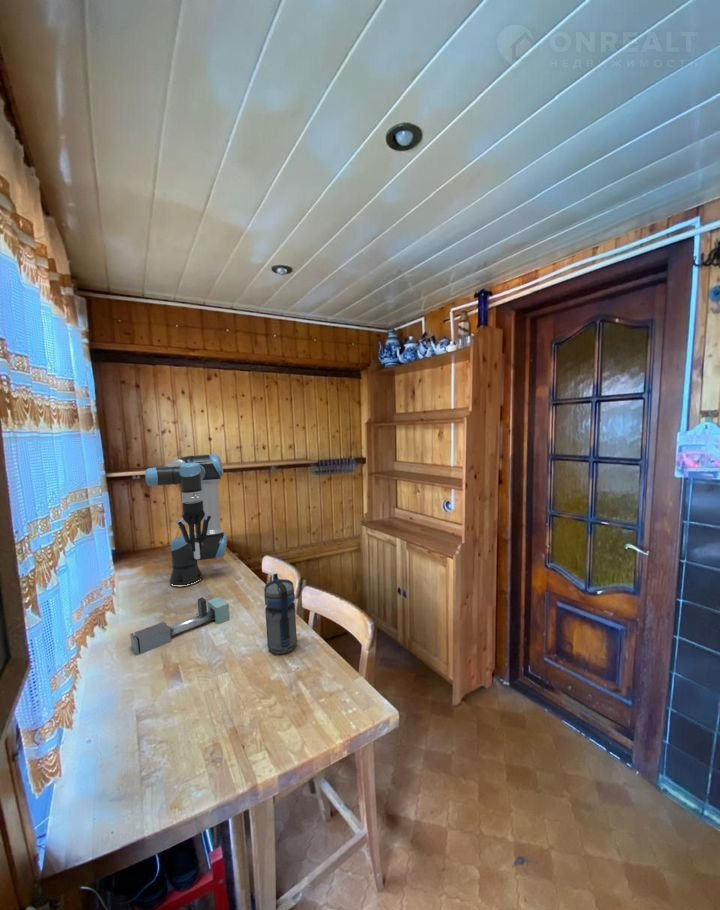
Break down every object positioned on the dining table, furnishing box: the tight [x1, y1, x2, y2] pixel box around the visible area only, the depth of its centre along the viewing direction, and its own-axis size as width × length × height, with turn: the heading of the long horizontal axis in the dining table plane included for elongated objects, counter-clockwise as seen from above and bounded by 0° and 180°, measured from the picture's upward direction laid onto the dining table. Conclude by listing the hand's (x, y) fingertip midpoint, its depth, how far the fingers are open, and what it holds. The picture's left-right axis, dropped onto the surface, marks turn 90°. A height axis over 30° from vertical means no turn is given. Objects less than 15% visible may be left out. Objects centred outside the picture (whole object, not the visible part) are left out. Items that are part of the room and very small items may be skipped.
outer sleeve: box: [129, 621, 172, 656], centre depth 136 cm, size 11×7×5 cm, turn 134°
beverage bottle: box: [263, 573, 298, 655], centre depth 130 cm, size 10×13×25 cm
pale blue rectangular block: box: [206, 596, 231, 625], centre depth 153 cm, size 5×9×7 cm, turn 44°
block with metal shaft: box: [168, 597, 215, 637], centre depth 146 cm, size 22×4×10 cm, turn 134°
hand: (197, 558), depth 152 cm, fingers closed
